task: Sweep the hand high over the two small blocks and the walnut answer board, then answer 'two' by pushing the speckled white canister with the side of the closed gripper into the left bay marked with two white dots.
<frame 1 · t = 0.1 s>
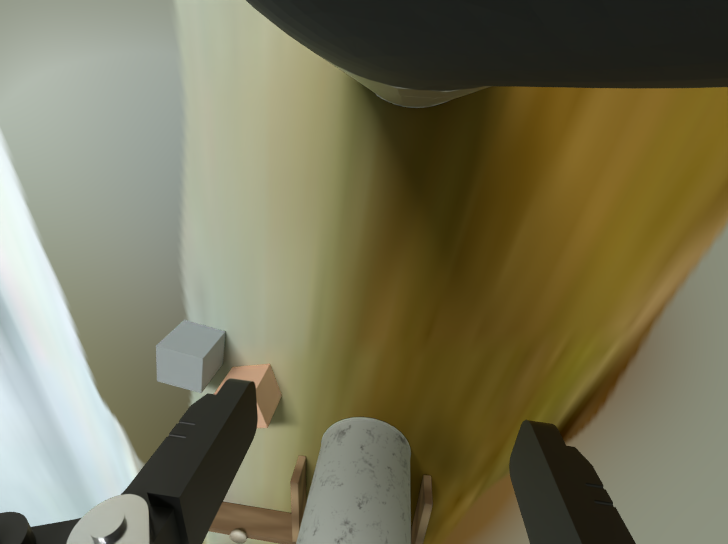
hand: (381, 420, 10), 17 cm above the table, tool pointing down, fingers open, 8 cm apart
block terracotta: (257, 380, 34), on the table
speckled white canister: (365, 447, 36), on the table
block slate: (204, 341, 33), on the table
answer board: (302, 489, 40), on the table
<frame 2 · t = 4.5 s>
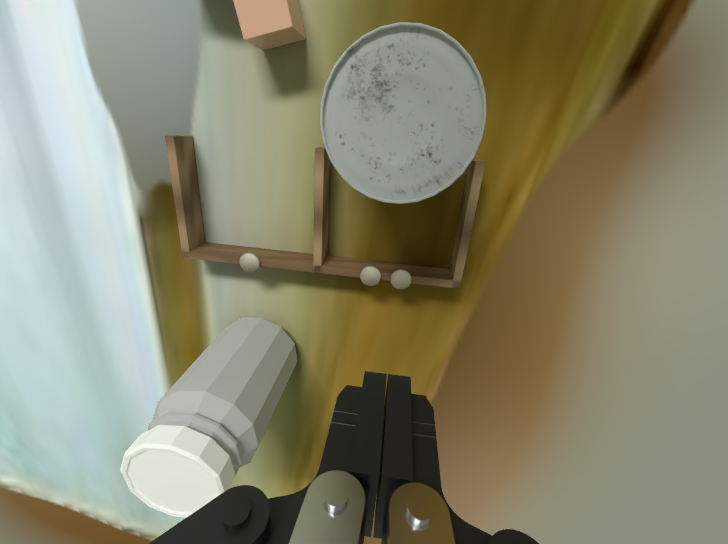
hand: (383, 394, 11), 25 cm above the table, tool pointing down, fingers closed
block terracotta: (278, 17, 29), on the table
speckled white canister: (402, 124, 31), on the table
jar: (262, 345, 43), on the table
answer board: (325, 209, 35), on the table
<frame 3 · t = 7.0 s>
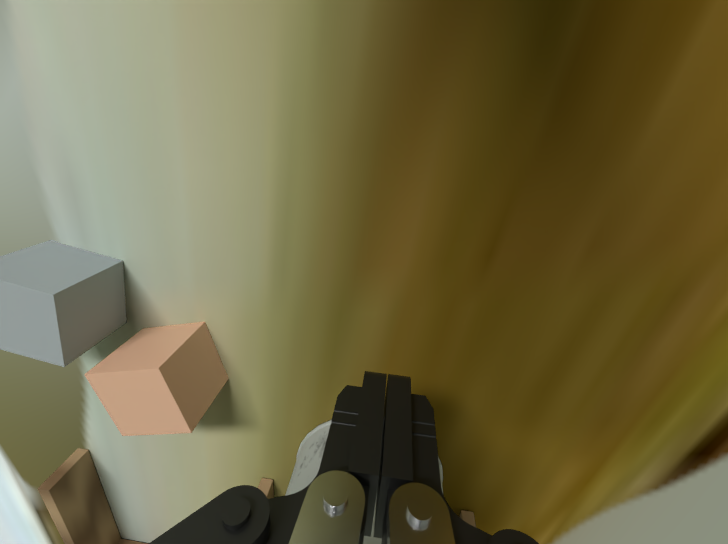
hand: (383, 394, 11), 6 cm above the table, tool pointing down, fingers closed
block terracotta: (187, 353, 20), on the table
speckled white canister: (368, 466, 22), on the table
block slate: (91, 282, 19), on the table
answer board: (270, 530, 26), on the table
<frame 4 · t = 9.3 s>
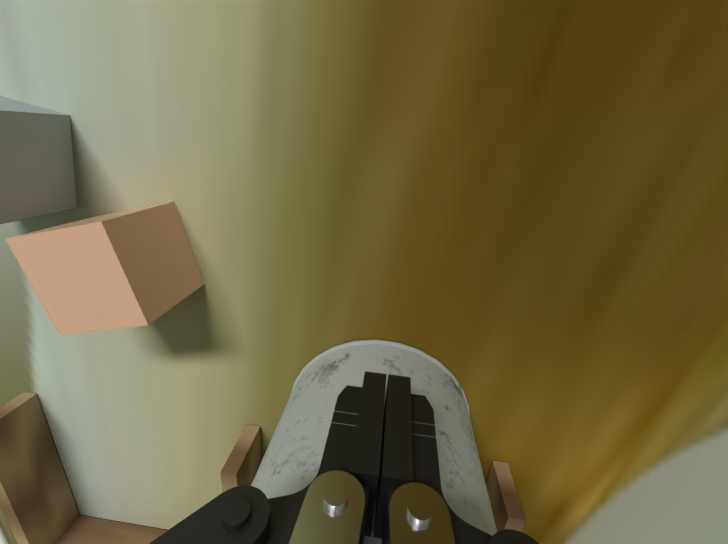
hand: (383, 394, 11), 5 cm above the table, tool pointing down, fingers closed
block terracotta: (153, 250, 16), on the table
speckled white canister: (377, 413, 18), on the table, touching gripper
block slate: (31, 151, 15), on the table
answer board: (257, 497, 22), on the table
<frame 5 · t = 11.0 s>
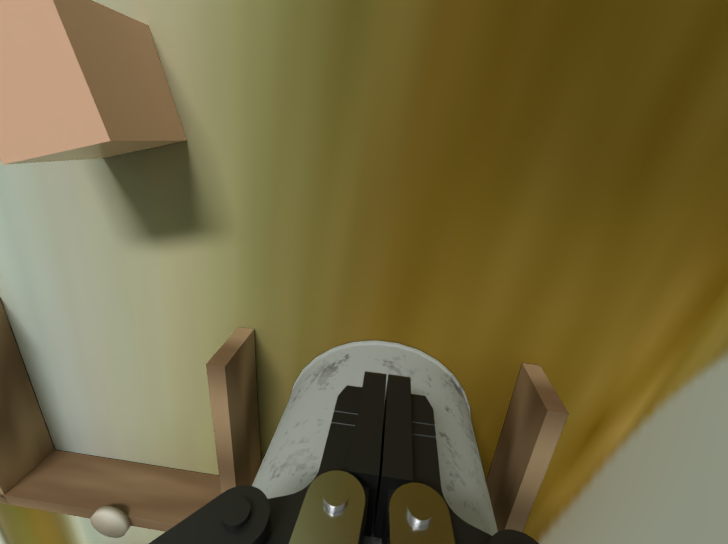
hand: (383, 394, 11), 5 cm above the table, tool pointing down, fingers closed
block terracotta: (125, 97, 14), on the table
speckled white canister: (378, 413, 18), on the table, touching gripper
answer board: (251, 420, 19), on the table
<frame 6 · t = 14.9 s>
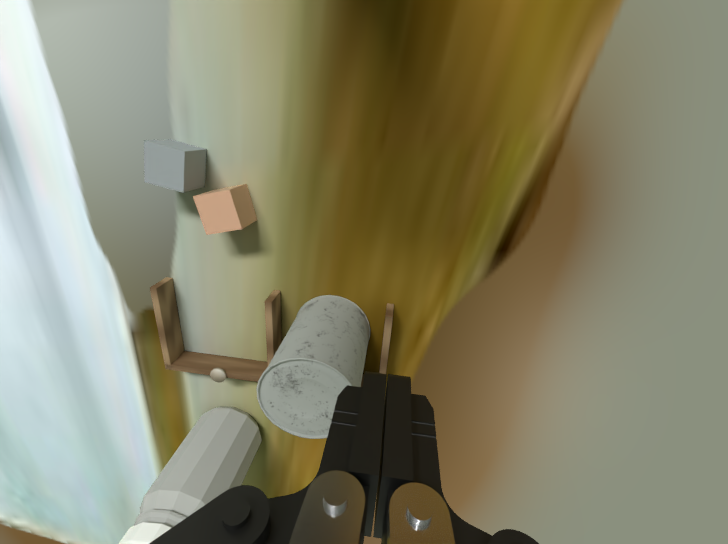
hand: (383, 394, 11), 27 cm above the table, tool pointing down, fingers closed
block terracotta: (235, 204, 38), on the table
speckled white canister: (332, 328, 43), on the table
jar: (233, 425, 52), on the table
block slate: (188, 163, 37), on the table
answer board: (278, 332, 44), on the table
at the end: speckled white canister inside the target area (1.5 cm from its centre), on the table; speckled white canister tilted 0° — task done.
